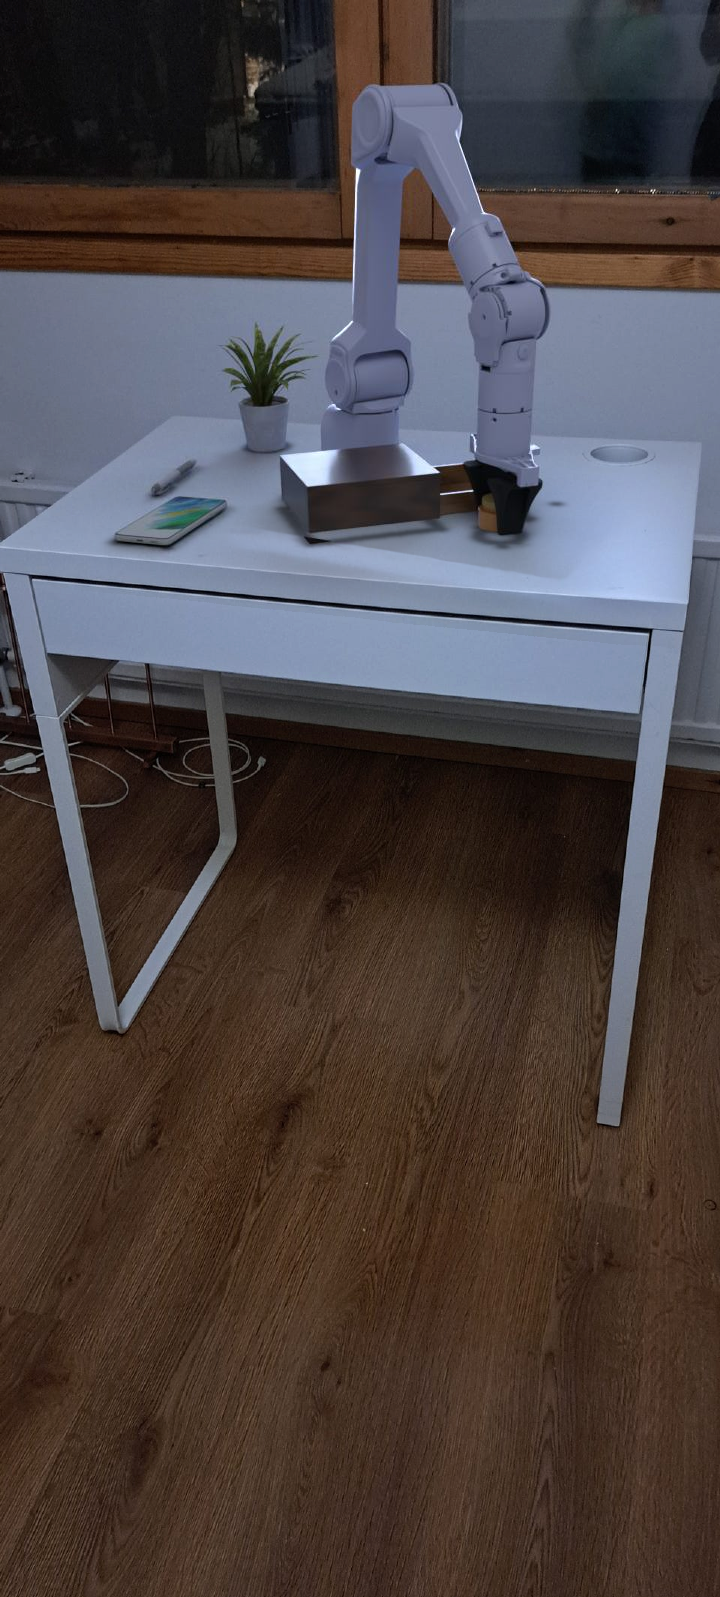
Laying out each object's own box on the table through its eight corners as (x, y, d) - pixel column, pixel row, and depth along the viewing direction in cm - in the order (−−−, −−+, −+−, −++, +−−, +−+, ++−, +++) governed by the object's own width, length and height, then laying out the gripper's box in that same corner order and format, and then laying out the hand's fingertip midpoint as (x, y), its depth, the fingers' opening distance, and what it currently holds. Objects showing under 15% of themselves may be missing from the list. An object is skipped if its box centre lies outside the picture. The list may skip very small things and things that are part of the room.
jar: (470, 539, 128) (471, 501, 125) (487, 526, 131) (489, 489, 129) (511, 545, 126) (513, 507, 123) (527, 532, 129) (529, 494, 127)
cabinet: (403, 495, 142) (403, 443, 138) (439, 529, 131) (440, 472, 127) (282, 509, 138) (279, 455, 135) (309, 544, 127) (307, 486, 124)
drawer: (494, 483, 144) (496, 433, 141) (537, 515, 133) (541, 462, 130) (370, 497, 141) (369, 446, 137) (404, 530, 130) (404, 476, 126)
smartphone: (111, 534, 129) (176, 495, 140) (112, 542, 129) (177, 502, 141) (168, 540, 126) (229, 499, 138) (169, 547, 127) (230, 506, 139)
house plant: (273, 469, 153) (266, 338, 144) (192, 454, 159) (181, 328, 151) (334, 444, 163) (330, 320, 154) (256, 431, 169) (248, 312, 161)
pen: (149, 498, 143) (147, 486, 142) (192, 466, 154) (191, 456, 153) (156, 498, 143) (155, 487, 142) (199, 467, 154) (198, 456, 153)
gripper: (569, 420, 116) (560, 550, 123) (513, 389, 128) (507, 510, 135) (504, 426, 115) (498, 558, 122) (453, 395, 126) (450, 516, 134)
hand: (499, 533), depth 128 cm, fingers open, 5 cm apart
